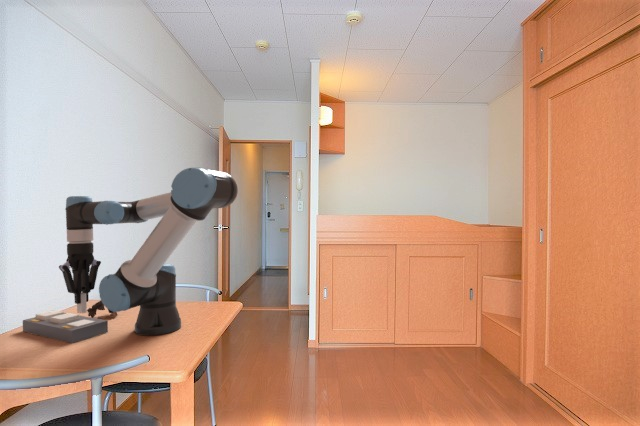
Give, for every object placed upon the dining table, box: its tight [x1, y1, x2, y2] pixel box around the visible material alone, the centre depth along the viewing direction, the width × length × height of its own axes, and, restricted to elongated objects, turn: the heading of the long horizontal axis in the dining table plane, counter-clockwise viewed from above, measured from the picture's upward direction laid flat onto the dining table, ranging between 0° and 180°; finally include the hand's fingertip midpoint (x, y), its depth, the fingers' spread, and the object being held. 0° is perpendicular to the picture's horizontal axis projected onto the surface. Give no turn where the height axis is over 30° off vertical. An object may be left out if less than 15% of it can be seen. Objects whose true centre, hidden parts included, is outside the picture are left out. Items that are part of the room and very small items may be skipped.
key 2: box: [66, 319, 95, 327], centre depth 128 cm, size 6×6×3 cm
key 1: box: [35, 310, 65, 321], centre depth 136 cm, size 6×6×3 cm
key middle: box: [50, 312, 80, 324], centre depth 132 cm, size 6×6×3 cm
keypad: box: [22, 312, 109, 344], centre depth 132 cm, size 28×12×4 cm, turn 64°
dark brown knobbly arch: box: [87, 300, 119, 320], centre depth 150 cm, size 12×10×8 cm
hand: (81, 312), depth 127 cm, fingers closed
